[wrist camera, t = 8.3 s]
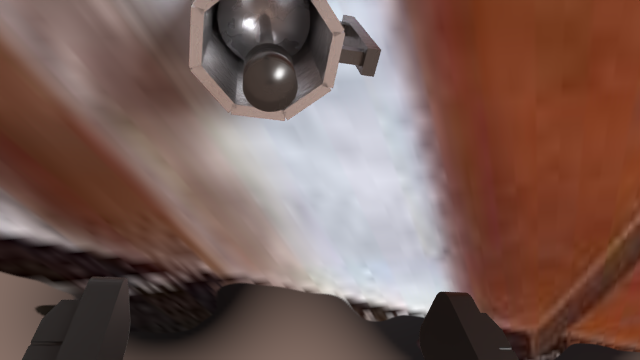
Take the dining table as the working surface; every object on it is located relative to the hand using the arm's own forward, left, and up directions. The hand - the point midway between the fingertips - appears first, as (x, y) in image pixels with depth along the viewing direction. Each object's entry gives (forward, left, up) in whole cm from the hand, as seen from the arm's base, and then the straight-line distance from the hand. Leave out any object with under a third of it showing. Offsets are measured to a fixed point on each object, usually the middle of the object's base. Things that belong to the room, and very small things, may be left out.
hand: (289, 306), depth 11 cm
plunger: (0, 0, -30) cm, 30 cm away
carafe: (0, +2, -35) cm, 35 cm away
